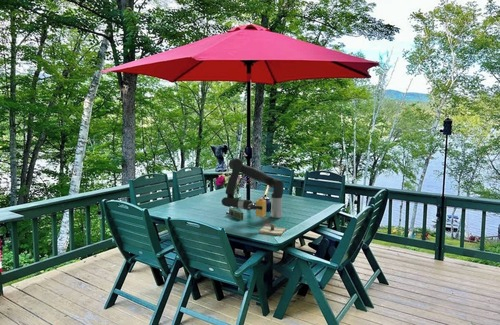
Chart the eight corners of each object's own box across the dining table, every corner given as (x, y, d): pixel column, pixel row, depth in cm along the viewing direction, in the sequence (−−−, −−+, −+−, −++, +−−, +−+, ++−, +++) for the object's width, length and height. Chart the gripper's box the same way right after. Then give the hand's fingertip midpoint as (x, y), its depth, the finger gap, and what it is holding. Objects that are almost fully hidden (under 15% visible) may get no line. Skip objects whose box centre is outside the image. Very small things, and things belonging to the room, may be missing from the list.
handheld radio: (240, 220, 278) (224, 214, 298) (243, 220, 280) (227, 214, 300) (240, 212, 277) (225, 207, 297) (244, 212, 279) (228, 206, 299)
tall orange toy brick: (256, 216, 250) (256, 199, 249) (259, 214, 255) (259, 197, 254) (262, 217, 247) (262, 199, 246) (266, 215, 252) (266, 198, 251)
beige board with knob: (264, 227, 257) (264, 220, 257) (285, 230, 252) (285, 223, 251) (258, 233, 244) (258, 225, 244) (281, 235, 238) (281, 228, 238)
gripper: (240, 201, 251) (259, 204, 242) (249, 198, 263) (268, 200, 255) (240, 211, 252) (259, 214, 243) (249, 207, 264) (268, 210, 256)
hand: (264, 207), depth 249 cm, fingers closed on tall orange toy brick, 5 cm apart
